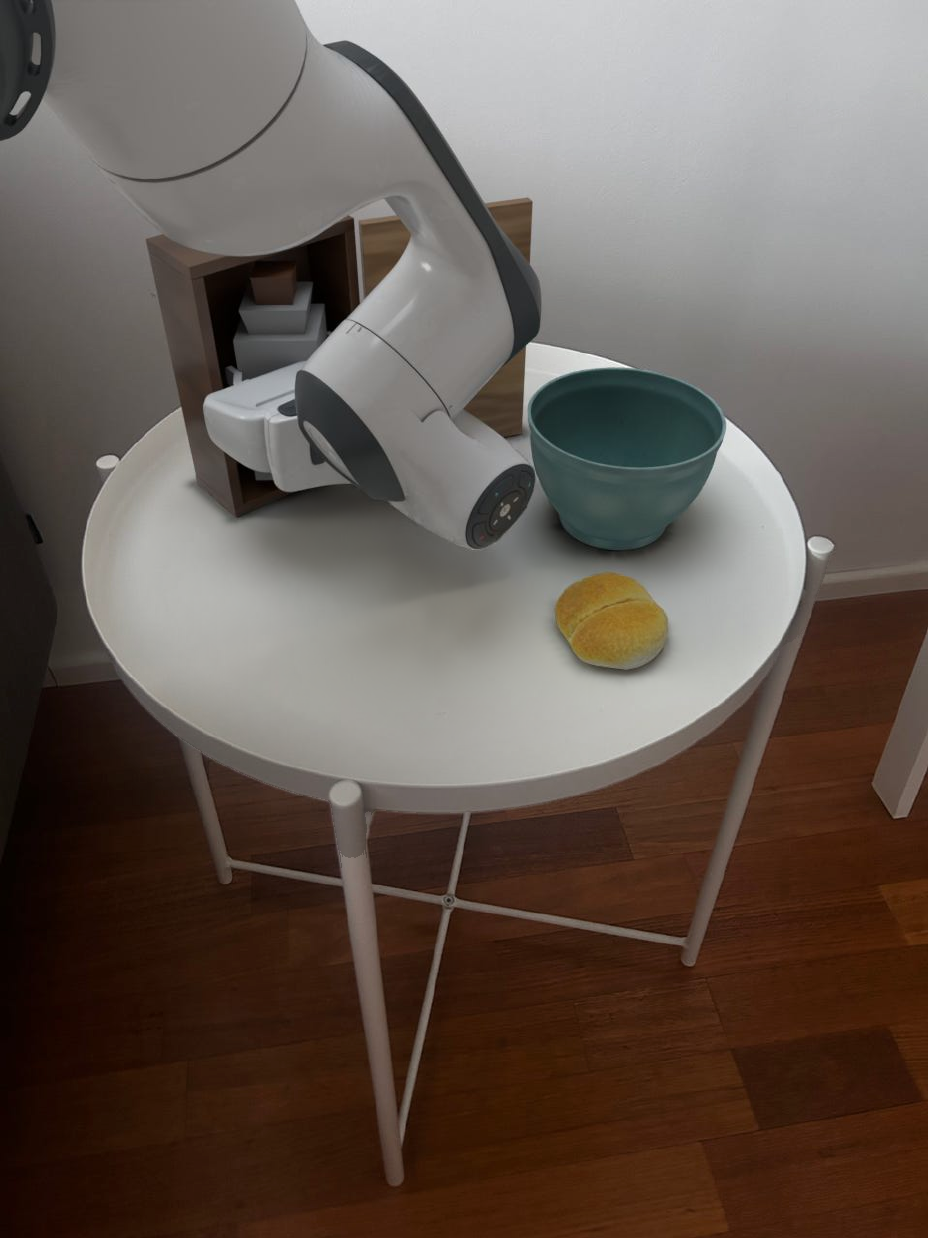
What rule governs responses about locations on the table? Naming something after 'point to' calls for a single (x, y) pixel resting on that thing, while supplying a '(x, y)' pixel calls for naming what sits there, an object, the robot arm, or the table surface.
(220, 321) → the cupboard
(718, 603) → the table surface
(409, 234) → the cupboard door
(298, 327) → the perfume bottle
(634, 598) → the bread roll
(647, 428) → the flower pot
